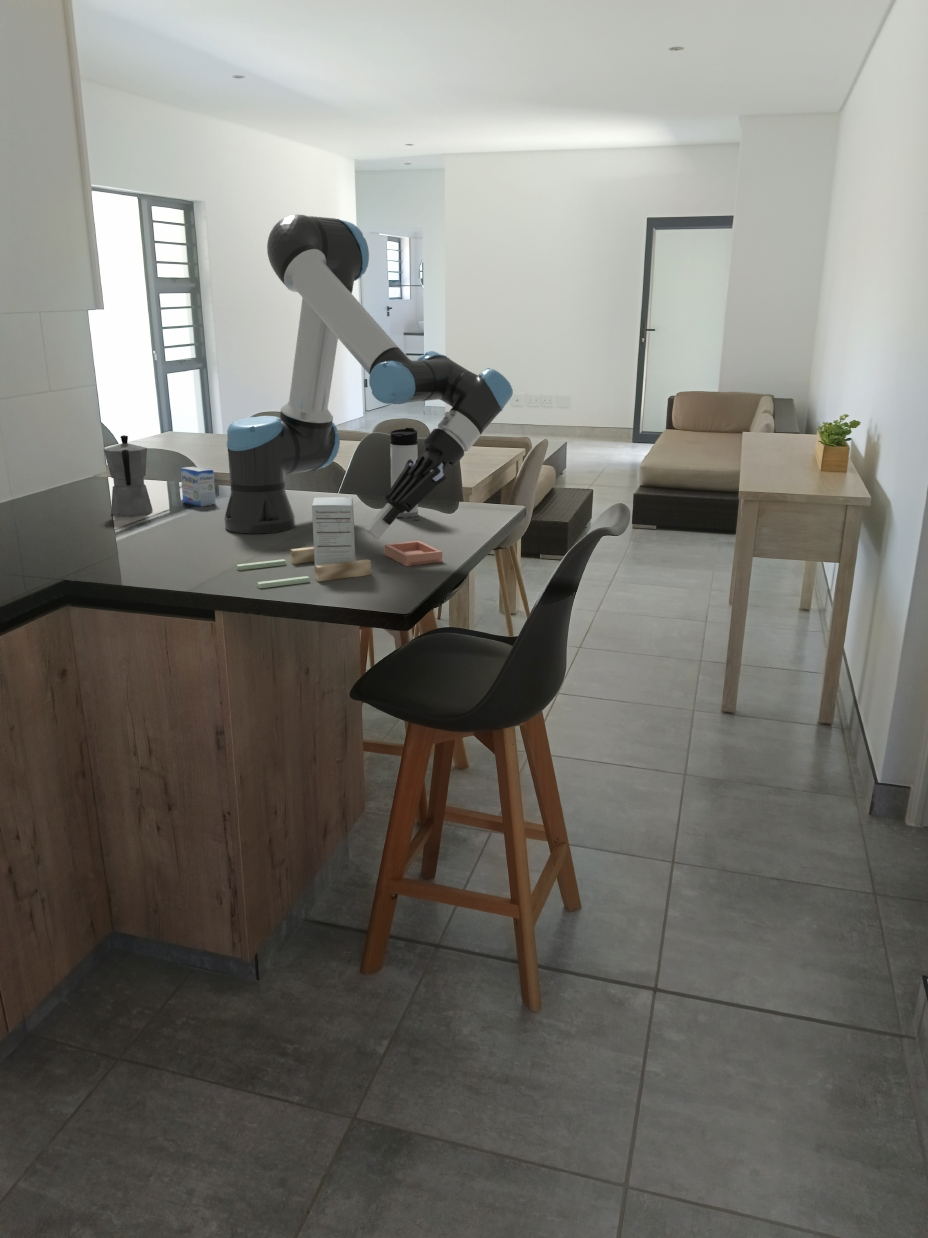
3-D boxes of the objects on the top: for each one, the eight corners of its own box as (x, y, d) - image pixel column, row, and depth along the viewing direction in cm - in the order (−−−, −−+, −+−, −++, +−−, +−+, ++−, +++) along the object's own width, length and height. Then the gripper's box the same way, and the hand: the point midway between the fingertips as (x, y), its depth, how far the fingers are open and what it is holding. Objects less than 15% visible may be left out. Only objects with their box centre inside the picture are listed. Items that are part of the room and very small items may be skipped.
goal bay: (259, 588, 157) (259, 583, 157) (236, 568, 169) (236, 564, 169) (309, 582, 162) (309, 577, 161) (283, 563, 174) (283, 559, 173)
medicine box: (182, 502, 229) (179, 467, 226) (197, 500, 232) (195, 465, 230) (201, 506, 224) (198, 471, 221) (216, 504, 227) (213, 469, 225)
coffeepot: (111, 508, 221) (102, 432, 215) (152, 506, 224) (145, 431, 218) (110, 521, 207) (101, 440, 202) (154, 519, 210) (146, 439, 205)
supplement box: (316, 563, 174) (313, 496, 170) (355, 562, 175) (354, 496, 171) (313, 573, 167) (310, 504, 163) (354, 572, 168) (352, 504, 164)
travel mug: (423, 513, 218) (422, 428, 212) (410, 519, 213) (409, 431, 206) (400, 511, 221) (399, 426, 215) (386, 516, 215) (385, 429, 209)
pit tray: (406, 566, 172) (406, 555, 172) (384, 554, 181) (384, 544, 180) (442, 561, 176) (442, 551, 175) (419, 550, 184) (419, 540, 184)
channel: (318, 581, 162) (318, 567, 161) (291, 562, 174) (290, 549, 174) (371, 574, 167) (370, 561, 166) (340, 556, 179) (340, 543, 178)
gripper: (423, 422, 179) (345, 515, 176) (454, 430, 168) (372, 528, 165) (447, 448, 183) (371, 539, 180) (479, 457, 172) (399, 554, 169)
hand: (371, 534), depth 173 cm, fingers closed
